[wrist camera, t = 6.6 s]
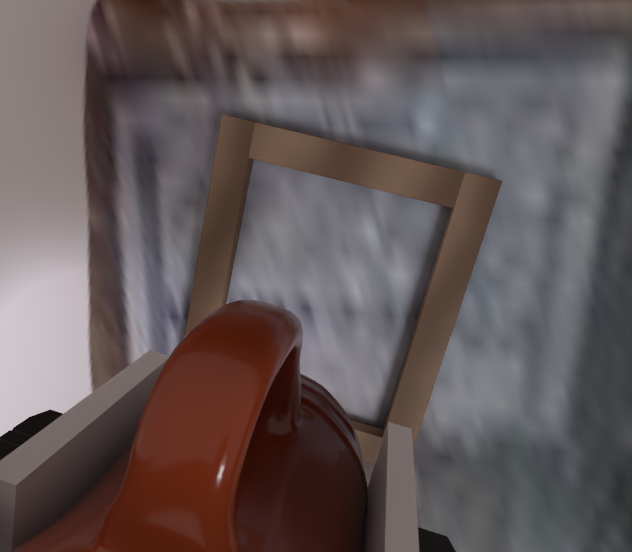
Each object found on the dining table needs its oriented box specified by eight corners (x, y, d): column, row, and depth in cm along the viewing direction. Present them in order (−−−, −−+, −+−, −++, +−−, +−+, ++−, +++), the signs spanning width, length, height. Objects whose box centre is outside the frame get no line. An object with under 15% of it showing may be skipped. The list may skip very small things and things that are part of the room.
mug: (352, 576, 18) (298, 1098, 8) (142, 502, 18) (-149, 886, 9) (452, 284, 14) (577, 532, 5) (194, 212, 15) (-170, 288, 5)
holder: (497, 180, 26) (502, 181, 25) (404, 463, 31) (404, 472, 30) (227, 116, 27) (221, 114, 26) (180, 395, 32) (173, 402, 31)
